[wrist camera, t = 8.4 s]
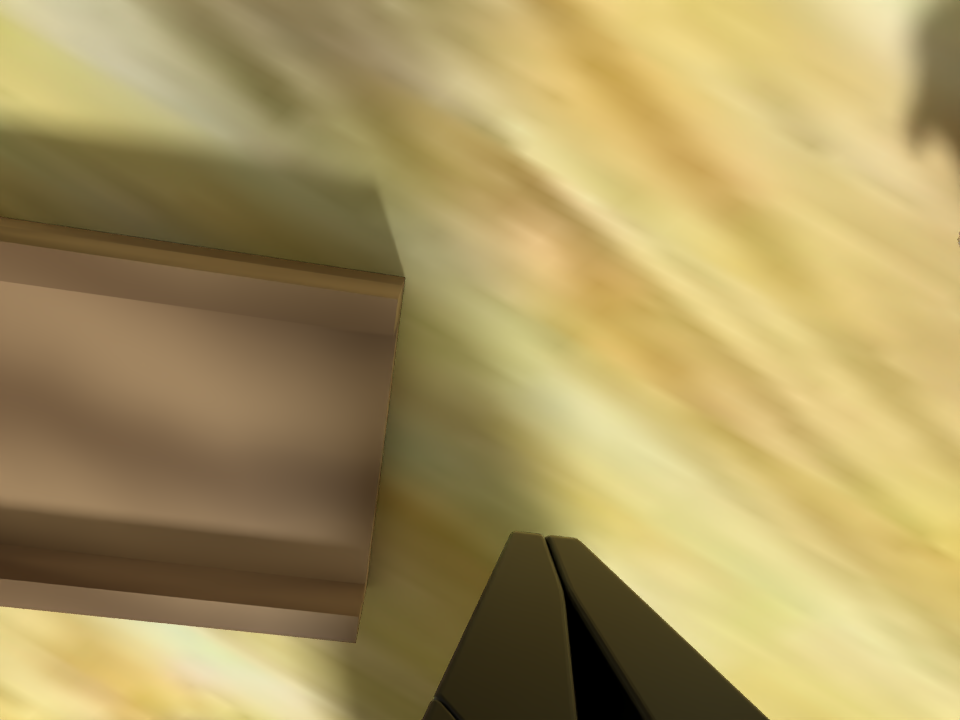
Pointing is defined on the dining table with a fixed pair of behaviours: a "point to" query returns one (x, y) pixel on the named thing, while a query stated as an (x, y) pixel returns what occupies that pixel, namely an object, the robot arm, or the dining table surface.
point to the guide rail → (189, 431)
